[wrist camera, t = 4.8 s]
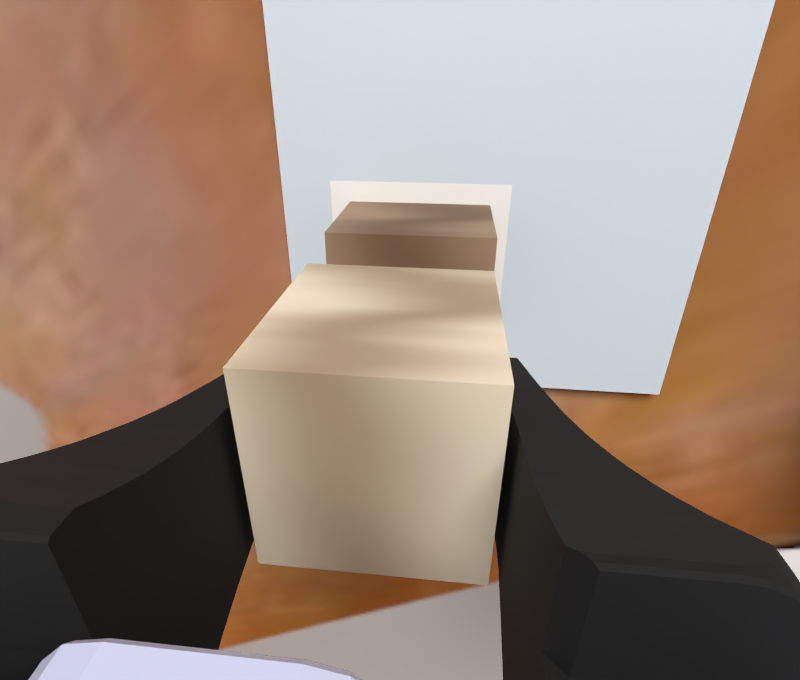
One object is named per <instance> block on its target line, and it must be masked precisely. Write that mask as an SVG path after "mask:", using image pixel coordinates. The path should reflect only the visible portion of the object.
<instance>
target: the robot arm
mask: <svg viewBox="0 0 800 680" xmlns="http://www.w3.org/2000/svg"><path fill="white" fill-rule="evenodd" d="M509 358H510V357H509ZM510 363H511V369H512V375H513V380H514V393H513V400H512V408H511V415H510V423H509V431H508V438H507V446H506V453H505V461H504V468H503V476H502V484H501V491H500V499H499V506H498V514H497V522H496V529H495V541H496V548H497V558H498V567H499V588H500V608H501V634H502V659H503V680H800V582H799V580H798V579H797V577H796V576H795V574H794V573H793V571H792V570H791V569H790V567H789V566H788V564H787V563H786V562H785V560H784V559H783V557H782V556H781V555H780V553H779V552H778V551H777V550H776V548H775V547H774V546H773V545H771V544H768V543H766V542H764V541H762V540H760V539H758V538H756V537H753V536H751V535H749V534H747V533H745V532H743V531H741V530H739V529H736V528H734V527H732V526H730V525H728V524H726V523H724V522H722V521H719V520H717V519H715V518H713V517H711V516H709V515H707V514H705V513H703V512H702V511H700V510H698V509H696V508H694V507H693V506H691V505H689V504H687V503H685V502H683V501H682V500H680V499H678V498H676V497H674V496H673V495H671V494H669V493H668V492H666V491H664V490H663V489H661V488H659V487H658V486H656V485H655V484H653V483H651V482H650V481H648V480H647V479H645V478H644V477H642V476H641V475H639V474H638V473H636V472H635V471H633V470H632V469H630V468H629V467H627V466H626V465H625V464H623V463H622V462H620V461H619V460H618V459H616V458H615V457H614V456H612V455H611V454H610V453H609V452H607V451H606V450H605V449H604V448H602V447H601V446H600V445H599V444H597V443H596V442H595V441H594V440H592V439H591V438H590V437H589V436H588V435H587V434H585V433H584V432H583V431H582V430H581V429H580V428H579V427H578V426H577V425H576V424H575V423H574V422H573V421H572V420H571V419H569V418H568V417H567V416H566V415H565V414H564V413H563V412H562V411H561V410H560V408H559V407H558V406H557V405H556V404H555V403H554V402H553V401H552V400H551V398H550V397H549V396H548V395H547V394H546V393H545V392H544V390H543V389H542V388H541V387H540V386H539V384H538V383H537V382H536V381H535V379H534V378H533V377H532V376H531V374H530V373H529V372H528V371H527V369H526V368H525V367H524V365H523V364H522V363H521V362H520V361H519V360H518V358H510ZM253 541H254V536H253V531H252V525H251V520H250V514H249V509H248V503H247V498H246V492H245V487H244V481H243V476H242V470H241V465H240V459H239V454H238V448H237V443H236V437H235V432H234V426H233V421H232V416H231V410H230V405H229V399H228V394H227V388H226V383H225V377H224V374H223V375H221V376H220V377H218V378H216V379H215V380H213V381H211V382H210V383H208V384H206V385H204V386H202V387H200V388H199V389H197V390H195V391H193V392H191V393H190V394H188V395H186V396H184V397H182V398H181V399H179V400H177V401H175V402H173V403H171V404H169V405H167V406H165V407H163V408H161V409H159V410H157V411H154V412H152V413H150V414H148V415H145V416H143V417H141V418H139V419H136V420H134V421H132V422H129V423H127V424H124V425H122V426H119V427H116V428H114V429H111V430H108V431H105V432H103V433H100V434H97V435H95V436H92V437H89V438H86V439H84V440H81V441H78V442H75V443H72V444H68V445H65V446H62V447H59V448H56V449H52V450H49V451H45V452H42V453H38V454H35V455H32V456H28V457H24V458H20V459H17V460H13V461H9V462H5V463H0V680H362V679H360V678H359V677H357V676H356V675H354V674H352V673H351V672H349V671H347V670H343V669H339V668H335V667H332V666H328V665H324V664H320V663H316V662H312V661H309V660H303V659H295V658H285V657H276V656H267V655H258V654H249V653H239V652H231V651H222V650H218V649H219V645H220V642H221V638H222V635H223V631H224V628H225V625H226V622H227V619H228V615H229V612H230V609H231V606H232V603H233V600H234V597H235V593H236V590H237V587H238V584H239V581H240V578H241V575H242V572H243V569H244V566H245V564H246V561H247V558H248V555H249V552H250V549H251V546H252V543H253Z"/></svg>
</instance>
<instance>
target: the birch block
mask: <svg viewBox="0 0 800 680" xmlns="http://www.w3.org/2000/svg"><path fill="white" fill-rule="evenodd" d="M223 372H224V377H225V383H226V388H227V394H228V399H229V405H230V410H231V416H232V421H233V426H234V432H235V437H236V443H237V448H238V454H239V459H240V465H241V470H242V476H243V481H244V487H245V492H246V498H247V503H248V509H249V514H250V520H251V525H252V531H253V536H254V541H255V547H256V552H257V558H258V563H260V564H270V565H281V566H291V567H301V568H312V569H322V570H333V571H343V572H353V573H364V574H374V575H385V576H395V577H406V578H416V579H426V580H437V581H447V582H458V583H468V584H478V585H488V582H489V575H490V567H491V560H492V552H493V544H494V537H495V529H496V522H497V514H498V506H499V499H500V491H501V484H502V476H503V468H504V461H505V453H506V446H507V438H508V431H509V423H510V415H511V408H512V400H513V393H514V380H513V375H512V369H511V363H510V358H509V352H508V347H507V341H506V335H505V330H504V324H503V318H502V313H501V307H500V301H499V296H498V290H497V285H496V279H495V273H494V271H481V270H457V269H432V268H408V267H383V266H359V265H334V264H310V263H307V265H306V266H305V267H304V268H303V270H302V271H301V272H300V273H299V275H298V276H297V277H296V278H295V280H294V281H293V282H292V283H291V284H290V286H289V287H288V288H287V289H286V291H285V292H284V293H283V294H282V296H281V297H280V298H279V299H278V300H277V302H276V303H275V304H274V305H273V307H272V308H271V309H270V310H269V312H268V313H267V314H266V315H265V317H264V318H263V319H262V320H261V321H260V323H259V324H258V325H257V326H256V328H255V329H254V330H253V331H252V333H251V334H250V335H249V336H248V337H247V339H246V340H245V341H244V342H243V344H242V345H241V346H240V347H239V349H238V350H237V351H236V352H235V353H234V355H233V356H232V357H231V358H230V360H229V361H228V362H227V363H226V365H225V366H224V367H223Z"/></svg>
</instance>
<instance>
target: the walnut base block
mask: <svg viewBox="0 0 800 680" xmlns="http://www.w3.org/2000/svg"><path fill="white" fill-rule="evenodd" d="M324 234H325V248H326V263H327V264H334V265H359V266H383V267H408V268H432V269H457V270H481V271H494V269H495V259H496V249H497V234H496V229H495V225H494V220H493V216H492V212H491V207H490V205H466V204H429V203H392V202H355V201H350V202H349V204H348V205H347V206H346V207H345V208H344V210H343V211H342V212H341V213H340V214H339V216H338V217H337V218H336V219H335V220H334V222H333V223H332V224H331V225H330V226H329V228H328V229H327V230H326V231H325V232H324Z"/></svg>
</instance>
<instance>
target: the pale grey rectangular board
mask: <svg viewBox="0 0 800 680" xmlns="http://www.w3.org/2000/svg"><path fill="white" fill-rule="evenodd" d="M262 2H263V12H264V21H265V31H266V40H267V50H268V59H269V69H270V78H271V88H272V97H273V107H274V117H275V126H276V136H277V145H278V155H279V164H280V174H281V183H282V193H283V202H284V212H285V221H286V231H287V240H288V250H289V259H290V269H291V278H292V282H293V281H294V280H295V278H296V277H297V276H298V275H299V273H300V272H301V271H302V270H303V268H304V267H305V266H306V265H307V263H310V264H327V263H326V248H325V234H324V232H325V231H326V230H327V229H328V228H329V226H330V225H331V224H332V223H333V222H334V220H335V219H336V218H337V217H338V216H339V214H340V213H341V212H342V211H343V210H344V208H345V207H346V206H347V205H348V204H349V202H350V201H355V202H392V203H429V204H466V205H490V207H491V212H492V216H493V220H494V225H495V229H496V234H497V249H496V259H495V269H494V273H495V279H496V285H497V290H498V296H499V301H500V307H501V313H502V318H503V324H504V330H505V335H506V341H507V347H508V352H509V357H510V358H518V360H519V361H520V362H521V363H522V364H523V365H524V367H525V368H526V369H527V371H528V372H529V373H530V374H531V376H532V377H533V378H534V379H535V381H536V382H537V383H538V384H539V386H540V387H541V388H557V389H574V390H591V391H608V392H625V393H642V394H659V393H660V390H661V386H662V383H663V380H664V376H665V373H666V369H667V366H668V363H669V359H670V356H671V352H672V349H673V346H674V342H675V339H676V335H677V332H678V329H679V325H680V322H681V319H682V315H683V312H684V308H685V305H686V302H687V298H688V295H689V291H690V288H691V285H692V281H693V278H694V274H695V271H696V268H697V264H698V261H699V257H700V254H701V251H702V247H703V244H704V241H705V237H706V234H707V230H708V227H709V224H710V220H711V217H712V213H713V210H714V207H715V203H716V200H717V196H718V193H719V190H720V186H721V183H722V179H723V176H724V173H725V169H726V166H727V163H728V159H729V156H730V152H731V149H732V146H733V142H734V139H735V135H736V132H737V129H738V125H739V122H740V118H741V115H742V112H743V108H744V105H745V101H746V98H747V95H748V91H749V88H750V85H751V81H752V78H753V74H754V71H755V68H756V64H757V61H758V57H759V54H760V51H761V47H762V44H763V40H764V37H765V34H766V30H767V27H768V23H769V20H770V17H771V13H772V10H773V7H774V3H775V0H262Z"/></svg>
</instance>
